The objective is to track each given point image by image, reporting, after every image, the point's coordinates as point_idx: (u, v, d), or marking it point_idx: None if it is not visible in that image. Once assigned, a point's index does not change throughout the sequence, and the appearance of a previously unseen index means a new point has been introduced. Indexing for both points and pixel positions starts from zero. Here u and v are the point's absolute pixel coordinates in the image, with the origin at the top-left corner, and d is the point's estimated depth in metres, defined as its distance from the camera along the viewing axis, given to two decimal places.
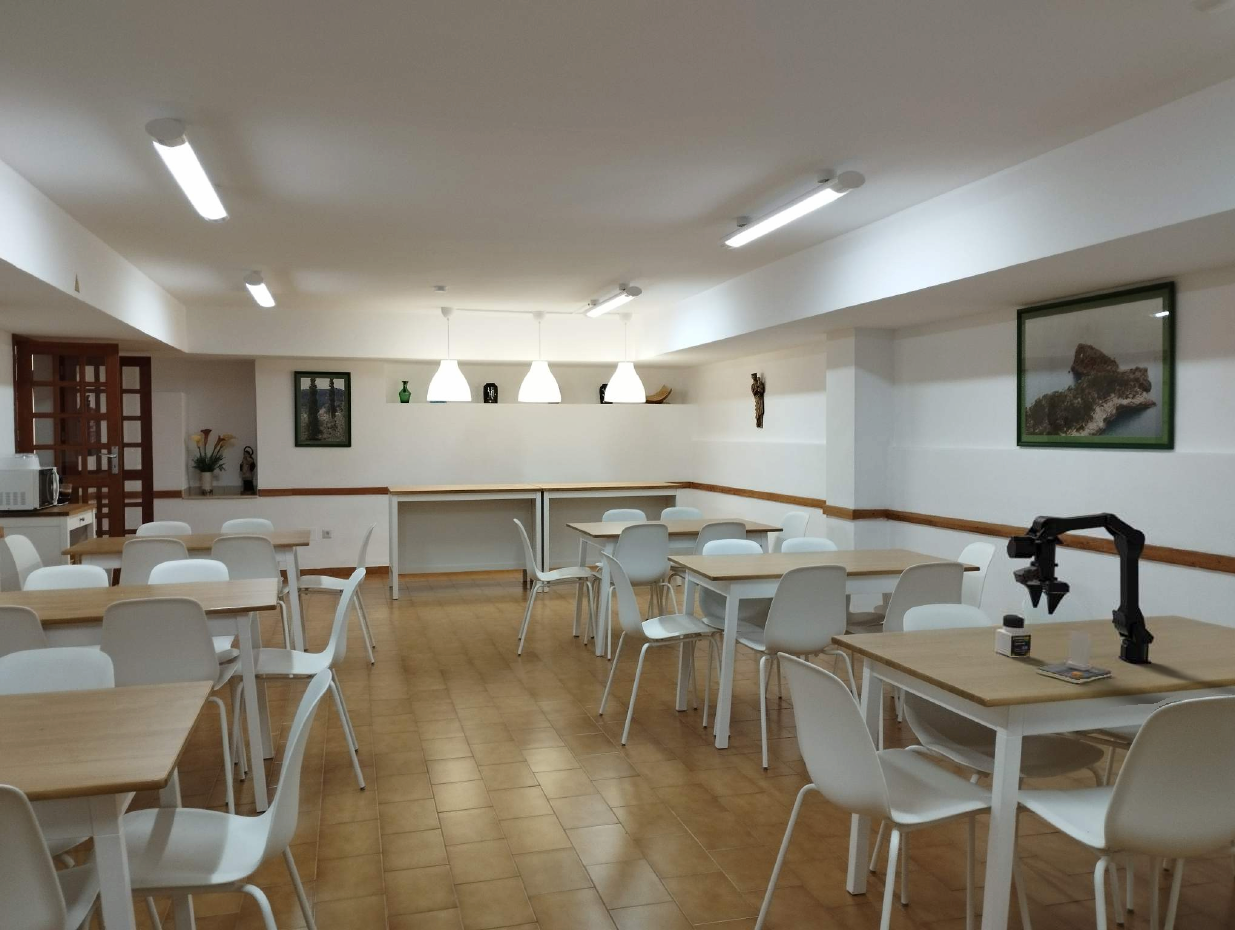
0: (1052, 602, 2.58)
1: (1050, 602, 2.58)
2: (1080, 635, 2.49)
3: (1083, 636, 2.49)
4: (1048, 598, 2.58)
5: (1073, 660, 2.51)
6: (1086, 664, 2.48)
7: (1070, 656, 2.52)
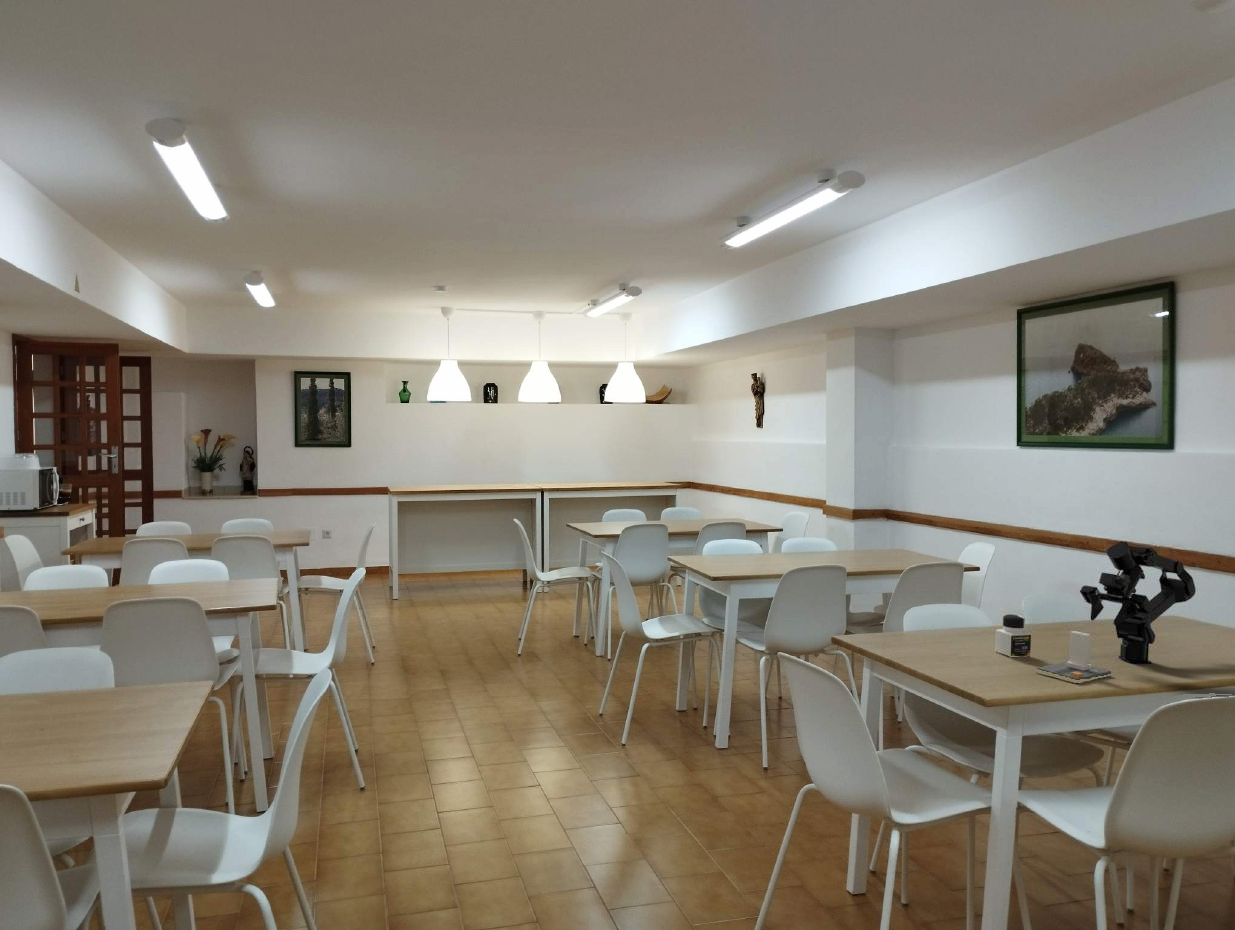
0: (1124, 614, 2.53)
1: (1123, 613, 2.53)
2: (1080, 635, 2.49)
3: (1083, 636, 2.49)
4: (1124, 608, 2.53)
5: (1073, 660, 2.51)
6: (1086, 664, 2.48)
7: (1070, 656, 2.52)
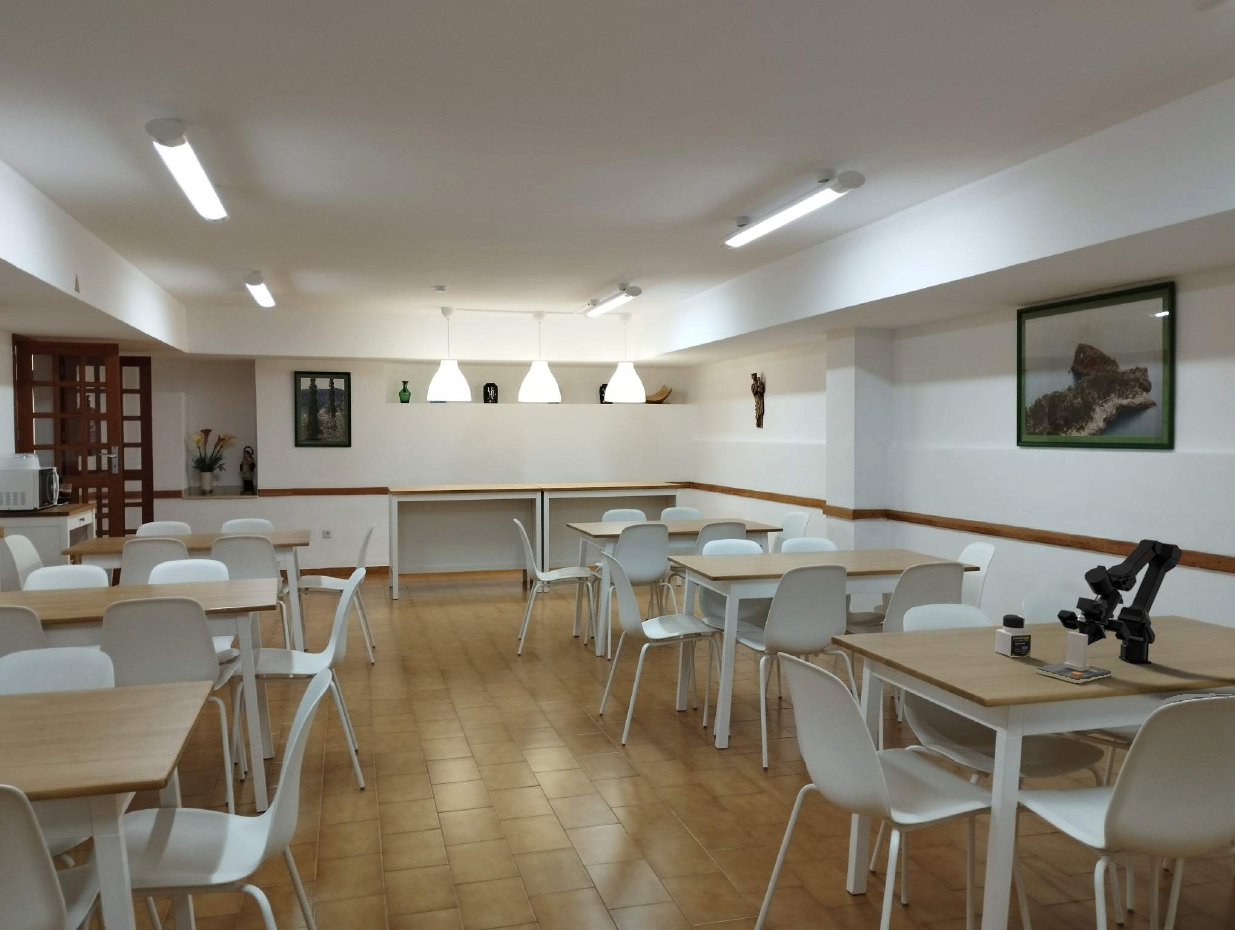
0: (1090, 638, 2.51)
1: (1089, 636, 2.50)
2: (1077, 635, 2.49)
3: (1080, 636, 2.48)
4: (1090, 632, 2.50)
5: (1070, 660, 2.50)
6: (1083, 665, 2.48)
7: (1067, 657, 2.51)
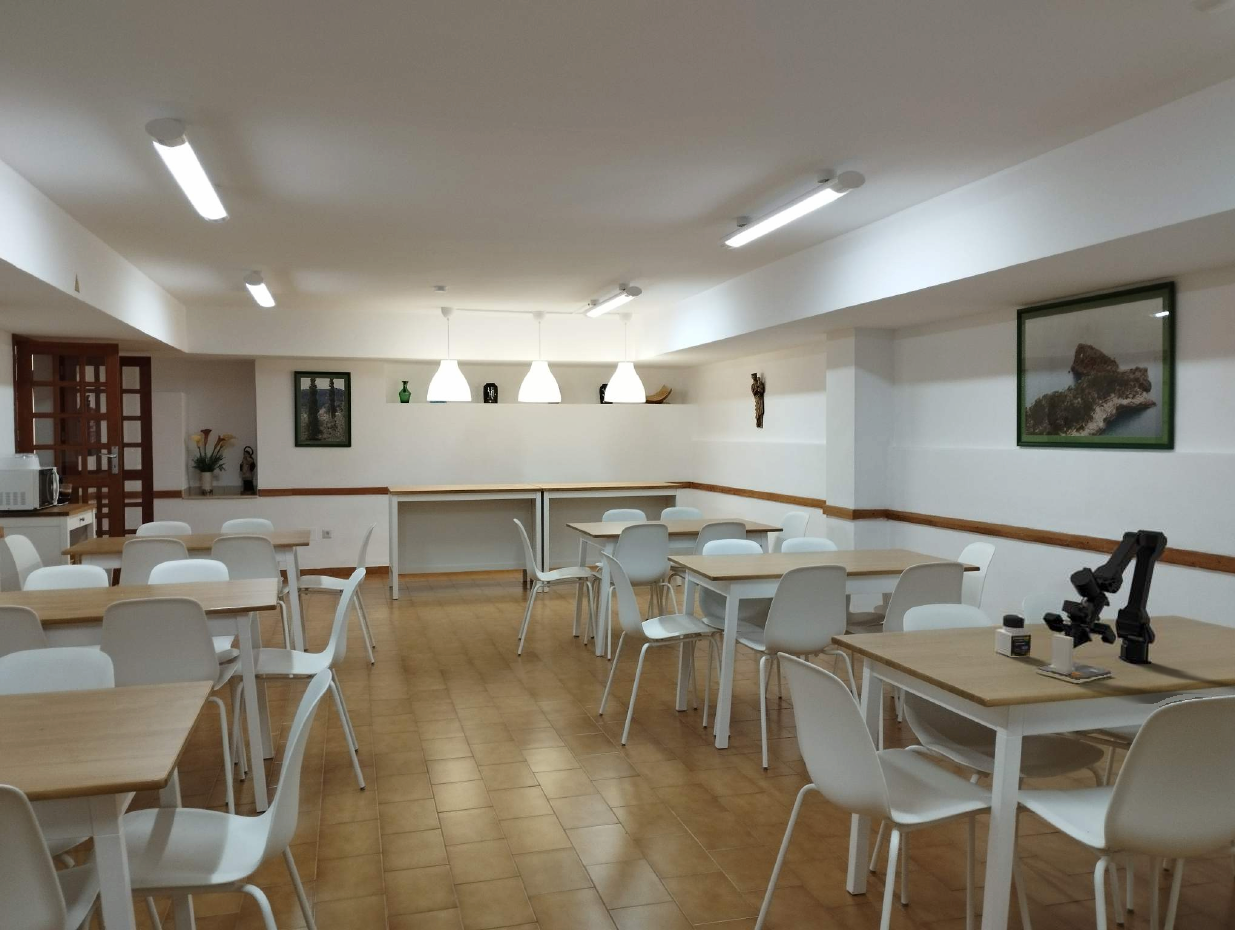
0: (1075, 641, 2.47)
1: (1075, 640, 2.47)
2: (1063, 638, 2.45)
3: (1066, 639, 2.44)
4: (1076, 635, 2.47)
5: (1056, 663, 2.47)
6: (1069, 668, 2.44)
7: (1053, 660, 2.48)
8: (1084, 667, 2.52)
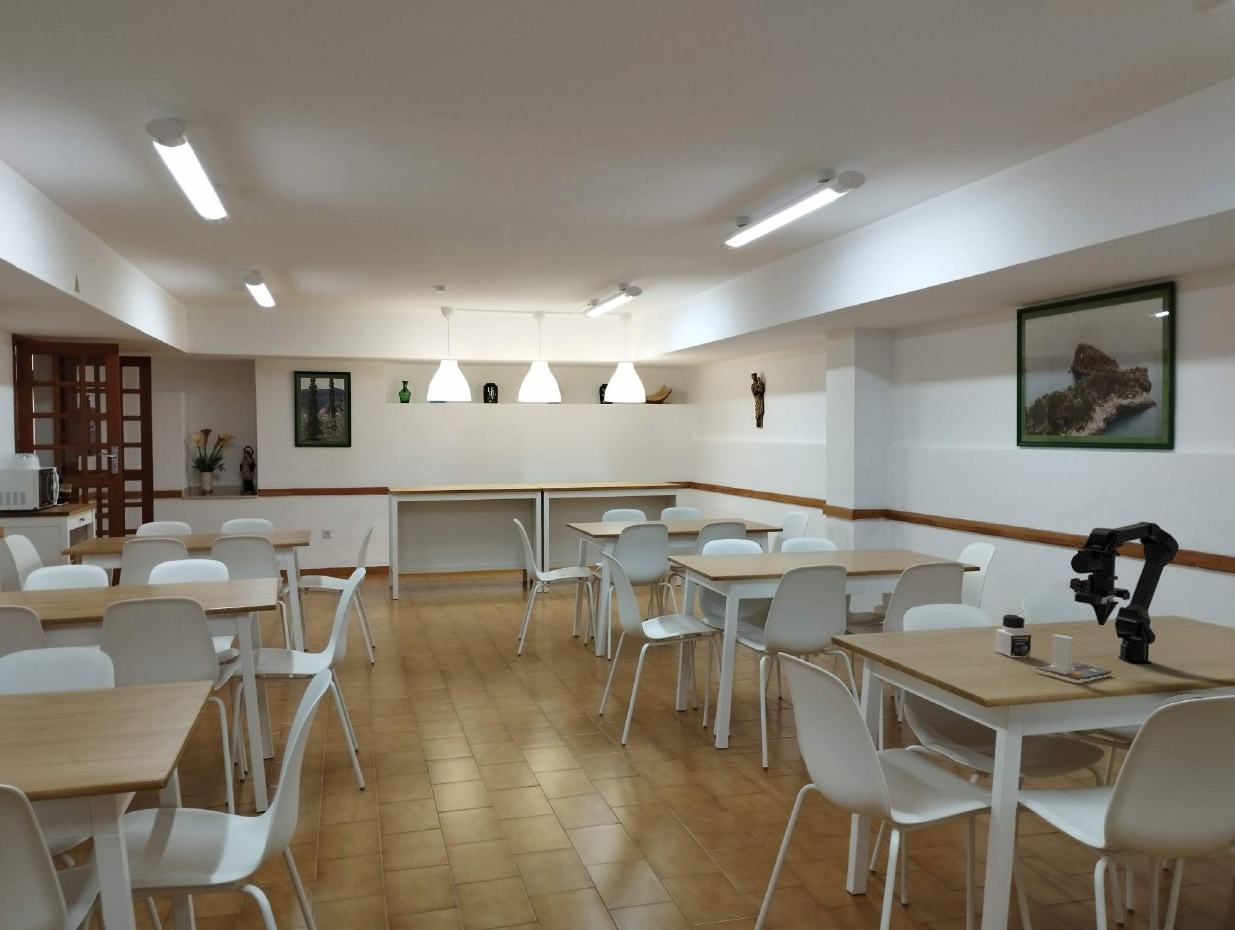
0: (1098, 612, 2.58)
1: (1096, 612, 2.58)
2: (1063, 638, 2.45)
3: (1066, 639, 2.44)
4: None
5: (1056, 663, 2.47)
6: (1069, 668, 2.44)
7: (1053, 660, 2.48)
8: (1084, 667, 2.52)
